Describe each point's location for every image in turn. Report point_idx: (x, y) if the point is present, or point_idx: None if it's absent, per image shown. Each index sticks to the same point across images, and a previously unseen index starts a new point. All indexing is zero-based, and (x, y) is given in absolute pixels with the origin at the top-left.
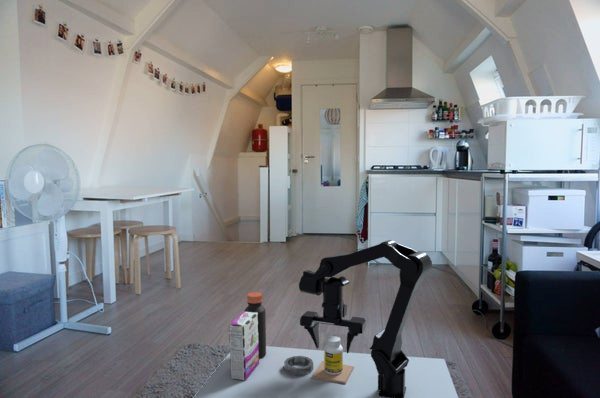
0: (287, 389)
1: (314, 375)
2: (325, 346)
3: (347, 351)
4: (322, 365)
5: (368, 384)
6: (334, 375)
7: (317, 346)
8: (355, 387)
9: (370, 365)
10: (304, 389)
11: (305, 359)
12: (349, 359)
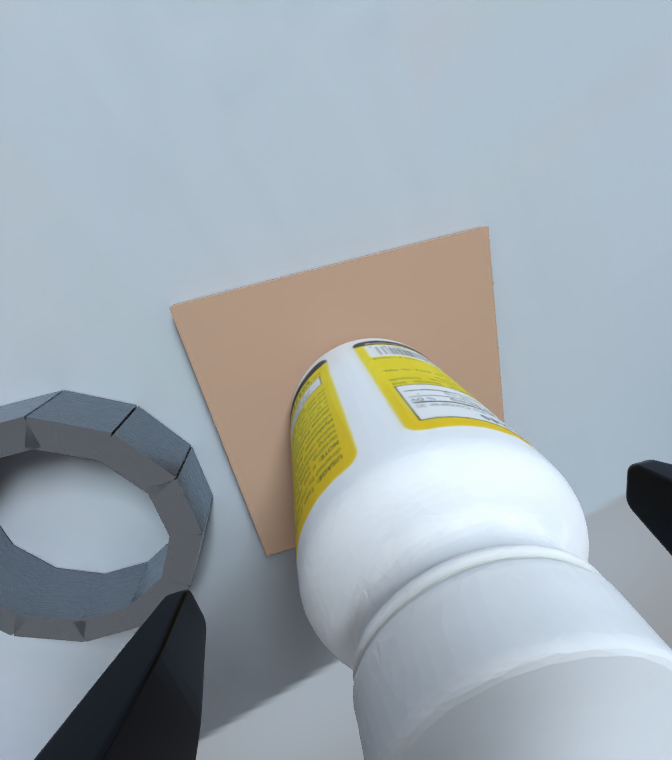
0: (232, 695)
1: (280, 542)
2: (336, 655)
3: (664, 533)
4: (230, 382)
5: (641, 397)
6: None
7: (202, 673)
8: (571, 475)
9: (609, 67)
10: (312, 648)
11: (47, 443)
12: (367, 48)
